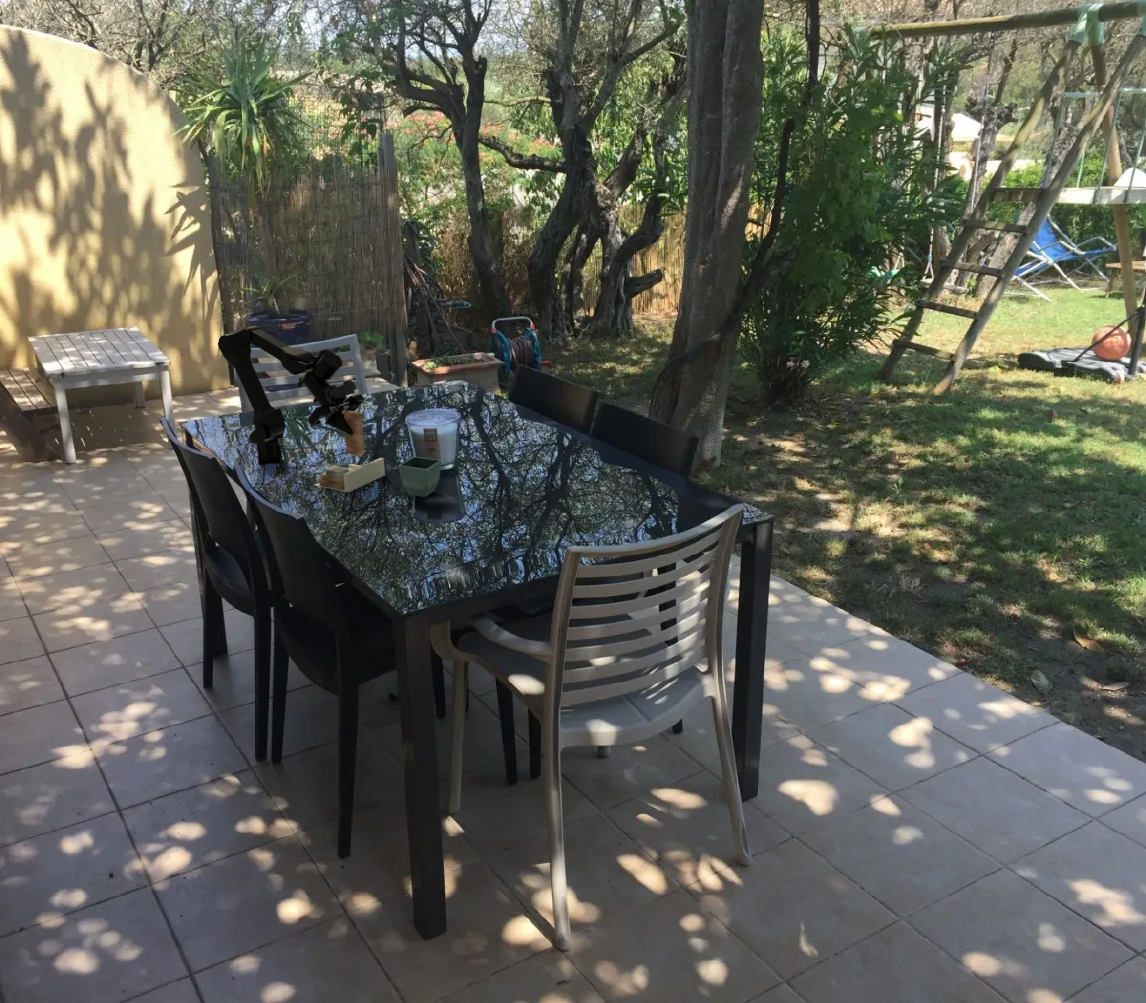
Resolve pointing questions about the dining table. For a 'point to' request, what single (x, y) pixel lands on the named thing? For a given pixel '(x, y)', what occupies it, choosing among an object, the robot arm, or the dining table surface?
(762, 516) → the dining table surface
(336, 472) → the offcut stack
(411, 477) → the flower pot
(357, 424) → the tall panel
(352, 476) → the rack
